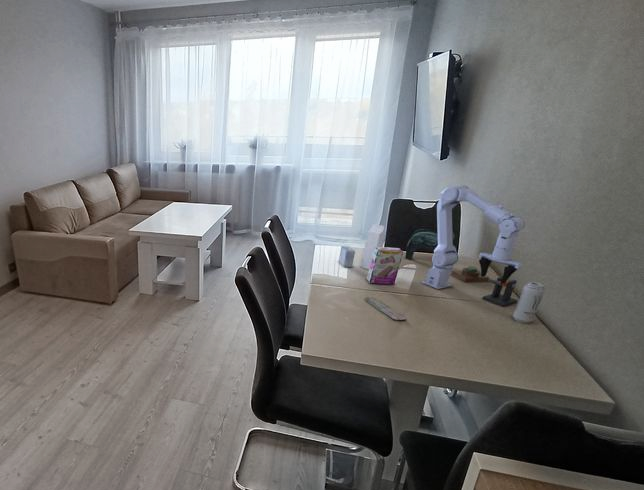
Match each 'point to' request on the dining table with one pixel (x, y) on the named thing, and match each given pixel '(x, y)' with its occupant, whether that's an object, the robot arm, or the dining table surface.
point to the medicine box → (346, 256)
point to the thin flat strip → (384, 308)
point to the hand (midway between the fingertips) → (492, 279)
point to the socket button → (471, 269)
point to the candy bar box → (384, 265)
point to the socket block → (469, 276)
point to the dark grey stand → (500, 298)
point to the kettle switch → (498, 282)
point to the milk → (372, 243)
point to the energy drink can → (529, 302)
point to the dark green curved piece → (423, 242)
